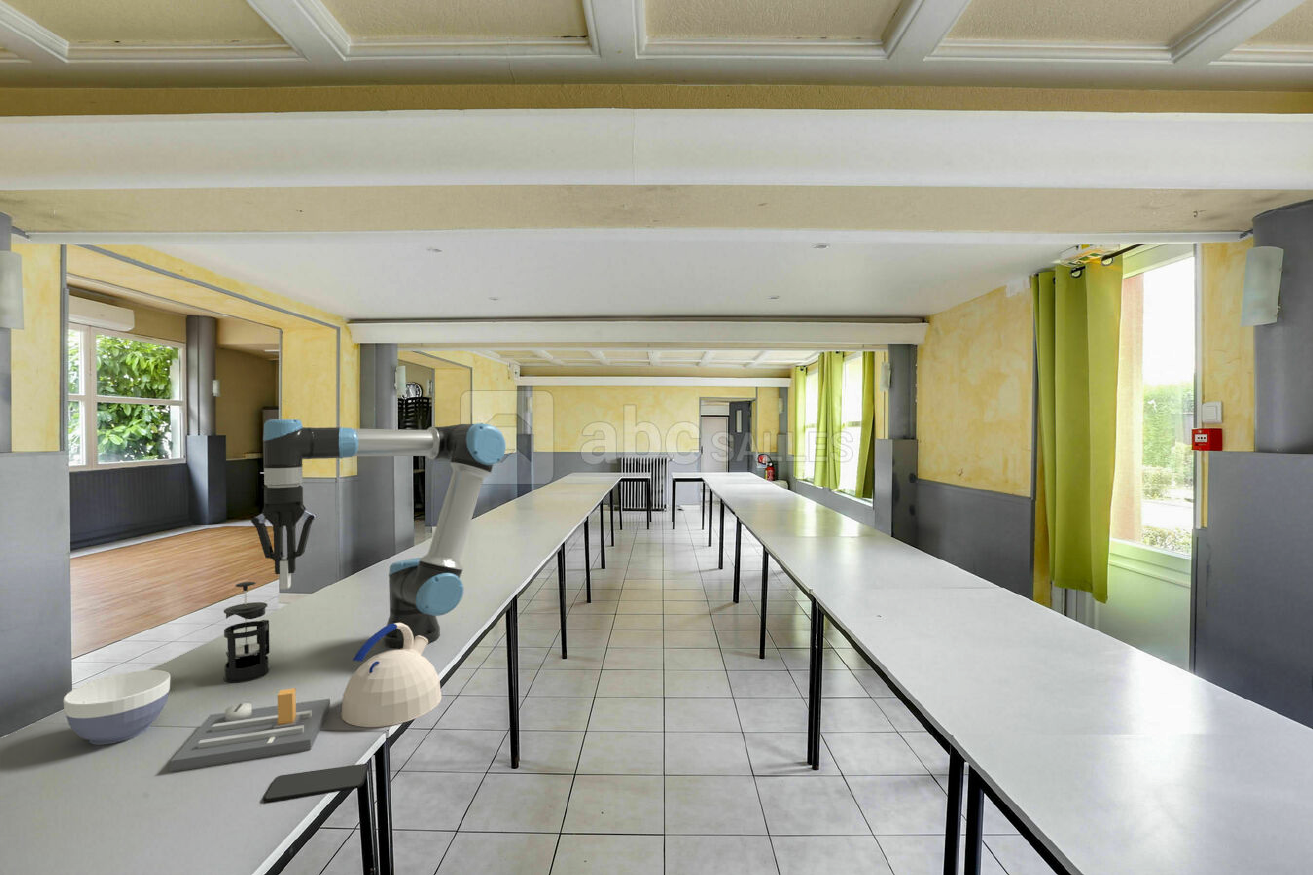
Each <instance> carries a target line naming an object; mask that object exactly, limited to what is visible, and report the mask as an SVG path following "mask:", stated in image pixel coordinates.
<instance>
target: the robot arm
mask: <svg viewBox="0 0 1313 875" xmlns="http://www.w3.org/2000/svg"><path fill="white" fill-rule="evenodd" d="M262 437H263V438H262V441H263V463H264V464H263V468H264V469H263V473H264V474H263V476H264V477H263V480H264V481H263V482H264V483H263V484H264V485H265V486H266V487H265V488H264V491H263V492H264V507H263V509H262V511H261V512H262V513H260V514H259V515H257V516H254V517H253V518H251V519H250V522H251V524H253V526H254V527H255V529H256V533H257V534H258V538H259V541H260V544H261V549H262V551H263V554H264V557H265V558H266V559H268V560H269V559H270V560H273V561H274V573H275V575H279V582H280V584H279V585H280V586H279V588H280V590H288V589H290V587H291V586H292V582H291V581H292V578H291V574H294V573H295V572H296V558H299V557H301V556H302V555H304V554H305V553H306V547H307V543H308V541H309V536H310V532H311V528H312V524H313V523H314V521H315V520H316V519H317V514H315V513H311V512H309V511H307V508H306V507H305V505H304V488H303V486H302V485H301V484H302V483H303V482H304V481H303V477H304V475H303V460H315V459H316V460H319V459H323V460H324V459H325V460H326V459H345V458H352V457H353V458H354V457H410V456H411V457H414V456H416V457H418V456H419V457H421V456H423V457H427V458H428V459H429V460H443V461H450V463H449V464H450V466H451V468H452V472H453V473H452V475H451V478H450V481H449V485H448V488H447V491H446V494H445V497H444V501H443V504H442V507H441V510H440V514H439V517H438V520H437V524H436V526H435V530H434V533H433V536H432V539H431V543H430V546H429V549H428V553H427V554H426V555H424V556H423V557H418V558H415V557H414V558H409V559H404V560H403V559H402V560H398V561H395V562H392V563H391V564H390V566H389V573H388V577H389V580H388V581H389V583H388V584H389V618H388V620H387V622H386V626H388V625H389V624H394V623H403V624H405V625H407V626H408V627H409V628H410V630H411V631H412V634H413V637H414V639H415V637H416V636H418V635H420V636H423V637H425V638H426V639H427V640H428V644H429V643H432V642H434V641H436V640H437V639H439V637H440V636H441V628H440V625H439V620H438V619H437V617H441V616H444V615H447V614H448V613H450V612H452V611H453V610H454V609H455V608H456V607H458V605H459V604H460V603H461V601H462V599H463V595H464V589H465V588H464V584H463V582H462V579H461V576H462V573H463V565H462V564H461V562H460V559H461V557H462V554H463V553H462V552H463V549H464V546H465V542H466V540H467V539H466V538H467V536H468V532H469V529H470V526H471V523H472V519H473V515H474V512H475V509H476V506H477V502H478V498H479V495H480V493H481V489H482V486H483V483H484V480H485V478H487V477H488V476H491V474H492V471H493V469H494V468H493V467H494V466H495V464H497V463H498V462H500V461H501V460H502V459H503V457H504V455H505V451H506V447H507V446H506V441H505V440H506V439H505V437H504V435H503V434H502V431H501V430H500V429H499V428H497V427H496V426H495V425H491V424H489V423H482V422H478V423H459V424H453V425H446V426H429V427H428V428H427V429H399V428H398V429H393V428H390V429H388V428H352V427H343V426H337V427H336V426H333V427H329V426H328V427H311V426H309V427H304V426H303V423H302V420H300V419H297V418H296V419H295V418H294V419H293V418H291V419H290V418H286V419H285V418H281V419H279V418H274V419H273V418H271V419H270V418H269V419H267V420H265V422H264V424H263V436H262ZM302 517H303V519H302V520H303V522H304V523H303V525H302V529H301V534H300V538H299V541H298V545H297V549H296V544H297V542H296V539H297V538H296V528H297V526H296V524H297V523H298V522H299V521H300V519H301V518H302ZM266 520H267V521H268V522H269V523H270V524H271V525H272V531H273V546H272V542H271V539H270V535H269V531H268V528H267V526H266V524H265V523H266ZM284 527H285V531H286V558H285V555H284V534H283V533H284V531H283V530H284ZM383 644H384V645H385V646H387V647H389V648H390V647H391V648H400V649H401V648H403V645H404V636H403V633H402V631H401V630H400V629H395V630H393V631H391V632H389V633H388V634H386V635H385V636H384V637H383Z"/></svg>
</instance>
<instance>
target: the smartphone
mask: <svg viewBox="0 0 1313 875" xmlns="http://www.w3.org/2000/svg"><path fill="white" fill-rule="evenodd" d="M368 771H369V764H368V763H359V764H352V765H345V766H340V767H333V768H332V767H331V768H325V769H323V768H322V769H318V770H316V769H315V770H310V771H303V772H295V773H289V774H282V775H281V774H280V775H278V776H277V777H275V778H274V779H273V781H272V783H271V784H270V786H269V788H268V789H267V791H266V793H265V794H264V796H263V802H264V803H265V804H270V803H278V802H281V801H282V802H284V801H290V800H296V799H300V798H306V797H312V796H318V795H324V794H325V793H326V794H330V793H337V792H342V791H348V790H355V789H359V788H361V787H362V786H363V785H364V783H365V781H366V778H367V775H368Z"/></svg>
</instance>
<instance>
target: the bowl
mask: <svg viewBox="0 0 1313 875" xmlns="http://www.w3.org/2000/svg"><path fill="white" fill-rule="evenodd" d="M170 689H171V673H169V672H168V671H166V670H160V669H145V670H136V671H129V672H128V671H127V672H123V673H120V674H119V673H118V674H114V675H109V676H105V677H103V678H99V679H96V680H93V681H90V682H87V683H85V684H82V685H80V686H78V687H76V688H74V689H72V690H70V691H69V692H68V693H66V695H65V696H64V697H63V708H64V714H65V717H66V719H67V722H68V725H69V727H70V728H71V729H72V731H73V732H74V733H75V734H76V735H77V736H78V737H80V738H83V739H85V740H87V741H88V742H89V743H90V744H91V745H95V746H97V745H98V746H102V745H103V746H104V745H110V744H111V745H112V744H116V743H117V744H118V743H121V742H124V741H126V740H130V739H133V738H135V737H137V736H139V735H142V734H143V733H145V732H146V731H147V730H149V729H150V727H151V724H152V723H153V722H154V721H156V720H157V718H158V717H159V716H160V715H161V713H162V711H163V710H164V707H165V706H166V704H167V703H168V698H169V694H170ZM83 702H84V703H83Z"/></svg>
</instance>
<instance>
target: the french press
mask: <svg viewBox="0 0 1313 875" xmlns="http://www.w3.org/2000/svg"><path fill="white" fill-rule="evenodd" d="M256 583H257V582H255V581H243V582H240V583H236V584H235V585H234V587H236V588H242V590H243V592H244V603H239V604H235V605H231V606H229V607H226V608H225V609H223V613H224V614H225V619H229V617H232V616H234V615H235V616H238V617H241V618H243V619H244V622H239V623H237V624H233V625H230V626H228V627H226V628H224V629H223V637H224V638H226V639H227V641H226V642H227V651H226V652H225V654H226V657H227V663H225V664H224V676H223V681H224V682H226V683H230V684H231V683H232V684H234V683H235V684H236V683H244V682H250V681H253V680H257V679H260V678H262V677H265V676H266V675H267V674H268V673H269V672H270V667H269V654H270V652H271V651H270V649H271V648H270V621H269V619H261V620H255V621H248V620H253V619H258V618H261V617H263V616H264V615H266V608H267V607H268V603H266V602H259V601H257V602H247V600H248V599H247V597H248V596H247V591H249V589H248V588H249V587H250V586H255V585H256ZM253 627H254V628H255V627H256V629H253V630H249V631H248V628H253ZM241 629H245V631H243V632H242V631H241V632H235V631H237V630H241ZM254 636H256V642H255V643H248V638H250V637H254ZM244 638H245V644H242V645H237V646H236V640H237V639H244Z"/></svg>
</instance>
